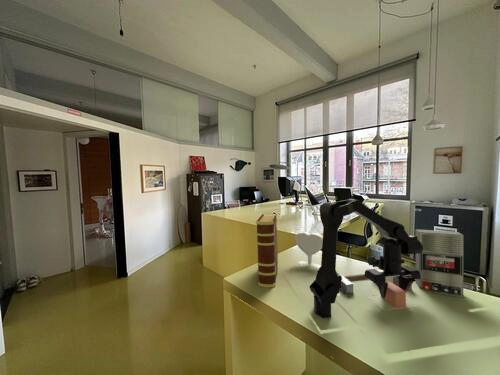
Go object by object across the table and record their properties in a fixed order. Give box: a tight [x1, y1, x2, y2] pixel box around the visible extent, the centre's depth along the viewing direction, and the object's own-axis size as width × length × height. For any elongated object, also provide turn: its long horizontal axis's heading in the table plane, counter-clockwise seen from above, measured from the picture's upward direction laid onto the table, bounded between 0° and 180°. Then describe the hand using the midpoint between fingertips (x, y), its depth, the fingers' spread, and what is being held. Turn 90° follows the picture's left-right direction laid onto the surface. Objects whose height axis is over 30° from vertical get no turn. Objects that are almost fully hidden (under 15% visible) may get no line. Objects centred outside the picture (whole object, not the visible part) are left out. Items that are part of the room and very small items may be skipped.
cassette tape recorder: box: [414, 229, 466, 299], centre depth 83 cm, size 14×6×25 cm, turn 64°
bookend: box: [337, 273, 354, 296], centre depth 86 cm, size 9×7×4 cm
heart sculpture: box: [294, 231, 323, 269], centre depth 115 cm, size 16×5×18 cm, turn 54°
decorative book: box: [255, 213, 279, 289], centre depth 102 cm, size 22×8×30 cm, turn 168°
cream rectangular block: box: [375, 268, 393, 283], centre depth 89 cm, size 7×4×6 cm, turn 8°
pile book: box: [367, 294, 418, 312], centre depth 76 cm, size 9×13×2 cm
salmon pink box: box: [381, 282, 407, 307], centre depth 76 cm, size 7×4×6 cm, turn 8°
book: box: [393, 276, 399, 287], centre depth 90 cm, size 7×4×6 cm, turn 8°
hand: (392, 296), depth 76 cm, fingers open, 7 cm apart
